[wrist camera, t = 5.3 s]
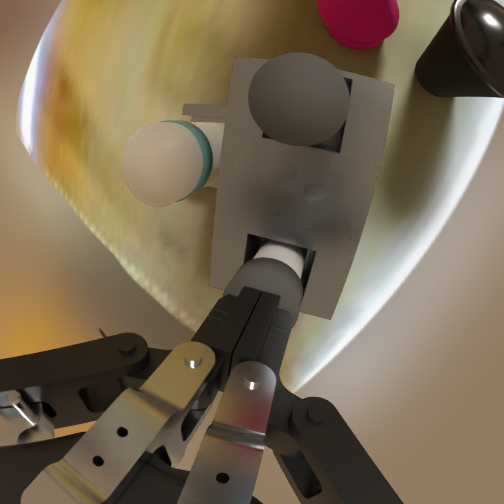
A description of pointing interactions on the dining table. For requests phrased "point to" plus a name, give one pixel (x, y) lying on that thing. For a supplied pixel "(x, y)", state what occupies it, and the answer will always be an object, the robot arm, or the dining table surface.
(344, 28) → the pepper mill
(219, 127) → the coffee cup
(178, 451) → the robot arm
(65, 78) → the dining table surface
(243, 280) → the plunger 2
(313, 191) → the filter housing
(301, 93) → the plunger
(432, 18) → the dining table surface
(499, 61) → the drinking cup
